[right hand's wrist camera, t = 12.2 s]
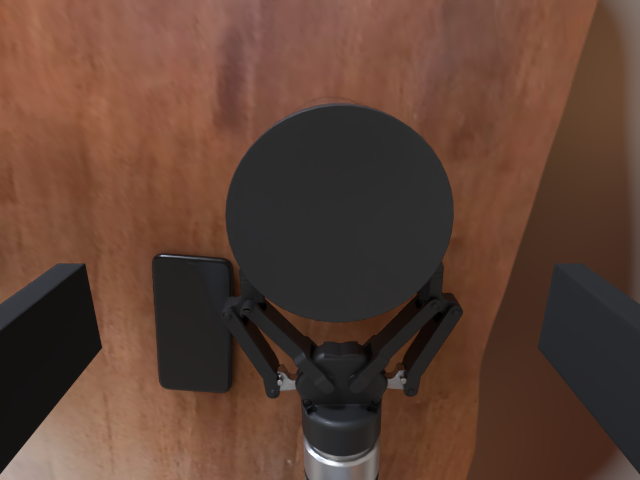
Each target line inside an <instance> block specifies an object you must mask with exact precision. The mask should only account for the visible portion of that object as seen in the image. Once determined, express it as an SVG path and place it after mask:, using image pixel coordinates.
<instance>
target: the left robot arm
mask: <svg viewBox="0 0 640 480" xmlns="http://www.w3.org/2000/svg"><path fill="white" fill-rule="evenodd" d="M443 269H444V267H443V264H442V261H441V262H440V264H439V266H438V268H437V269H436V271H435V272H434V274H433V275H432V276H431V278H430V279H429V280H428V281H427V283H426V284H425V285H424V286H423V287H422V288H421V289H420V290H419V291H418V292H417V295H416V296H415V297H414V298H413V299H412V300H411V301H410V302H409V303H408V304H407V305H406V306H405V307H404V308H403V309H402V310H401V311H400V312H399V313H398V314H397V315H396V316H395V317H394V318H393V319H392V320H391V321H390V322H389V323H388V324H387V325H386V326H385V327H384V328H383V330H382V331H381V332H380V333H379V334H377V335H373V336H372V337H371V338H370V339H369V340H368V341H367V342H366V343H365V344H364V345H360V344H358V341H349V342H345V343H335V342H324V344H323V345H320V346H317V345H316V344H315V343H314V342H313V341H312V340H311V339H310V338H309V337H307V336H303V335H302V334H301V333H300V332H299V331H298V330H297V329H296V328H295V327H294V326H293V325H292V324H291V323H290V322H289V321H288V320H287V319H286V318H285V317H284V316H283V315H282V314H280V313H279V312H278V311H277V310H276V309H275V308H274V307H273V306H272V305H271V304H270V303H269V302H268V301H267V300H266V299H265V296H264V295H262V294H261V293H260V292H259V291H258V290H257V289H256V288H255V287H254V286H253V285H252V284H251V282H250V281H249V280H248V279H247V277H246V276H245V275H244V273H243V272H242V270H241V269H239V275H240V285H241V295H240V296H238V297H233V296H232V297H229V298H228V299H227V301H226V303H225V306H224V308H223V311H222V313H221V318H222V320H223V322H224V323H225V324H226V326H227V327H228V329H229V330H230V332H231V333H232V335H233V336H234V337H235V339H236V340H237V342H238V343H239V345H240V346H241V348H242V349H243V351H244V352H245V353H246V355H247V356H248V358H249V359H250V361H251V362H252V364H253V365H254V366H255V368H256V369H257V371H258V372H259V374H260V375H261V377H262V378H263V381H264V386H265V390H266V394H267V396H268V397H269V398H277V397H278V396H279V393H280V391H285V390H294V389H296V390H297V391H298V393H299V394H300V396H301V404H302V426H303V450H304V466H305V480H378V474H379V462H380V429H381V404H382V395H383V393H384V392H385V390H386V389H387V388H392V389H404V393H405V395H407V396H409V397H413V396H415V395H416V394H417V392H418V388H419V383H420V378H421V376H422V374H423V373H424V371H425V370H426V368H427V367H428V365H429V364H430V362H431V361H432V359H433V358H434V356H435V355H436V353H437V352H438V350H439V349H440V347H441V346H442V344H443V343H444V341H445V340H446V338H447V337H448V335H449V334H450V332H451V331H452V329H453V328H454V326H455V325H456V323H457V322H458V320H459V319H460V317H461V316H462V314H463V310H462V308H461V306H460V305H459V303H458V301H457V300H456V298H455V297H454V295H453V294H452V293H446V294H445V293H442V280H443ZM256 325H257V326H258V327H259V328H260V329H261V330H262V331H263V332H264V333H265V334H266V335H267V336H268V337H269V338H271V339H272V340H273V341H274V342H275V343H276V344H277V345H278V346H279V347H280V348H281V349H282V350H283V351H285V352H286V353H287V354H288V355H289V356H290V357H291V358H292V359H293V360H294V363H295V365H296V366H297V367H298V368H299V370H298V371H297V373H296V374H291V373H289V372H288V370H287V368H286V367H285V365H283V364H280V365H279V361H278V359H277V357H276V355H275V353H274V352H273V350H272V349H271V347H270V346H269V344H268V343H267V341H266V340H265V338H264V337H263V335H262V334H261V332H260V331H259V329H258V327H257V326H256ZM420 329H421V330H420ZM419 330H420V332H419V333H418V335H417V336H416V338H415V339H414V341H413V342H412V344H411V346H410V347H409V349H408V350H407V352H406V354H405V355H404V358H403V361H402V363H397V365H396V367H395V369H394V370H393V371H392V372H391V373H386V371H385V370H384V368H385V367H386V366H387V365H388V363H389V361H390V358H391V357H392V356H393V355H394V354H395V353H396V352H397V351H398V350H399V349H400V348H401V347H402V346H403V345H404V344H405V343H406V342H407V341H408V340H410V339H411V338H412V337H413V336H414V335H415V334H416V333H417V332H418V331H419Z"/></svg>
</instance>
